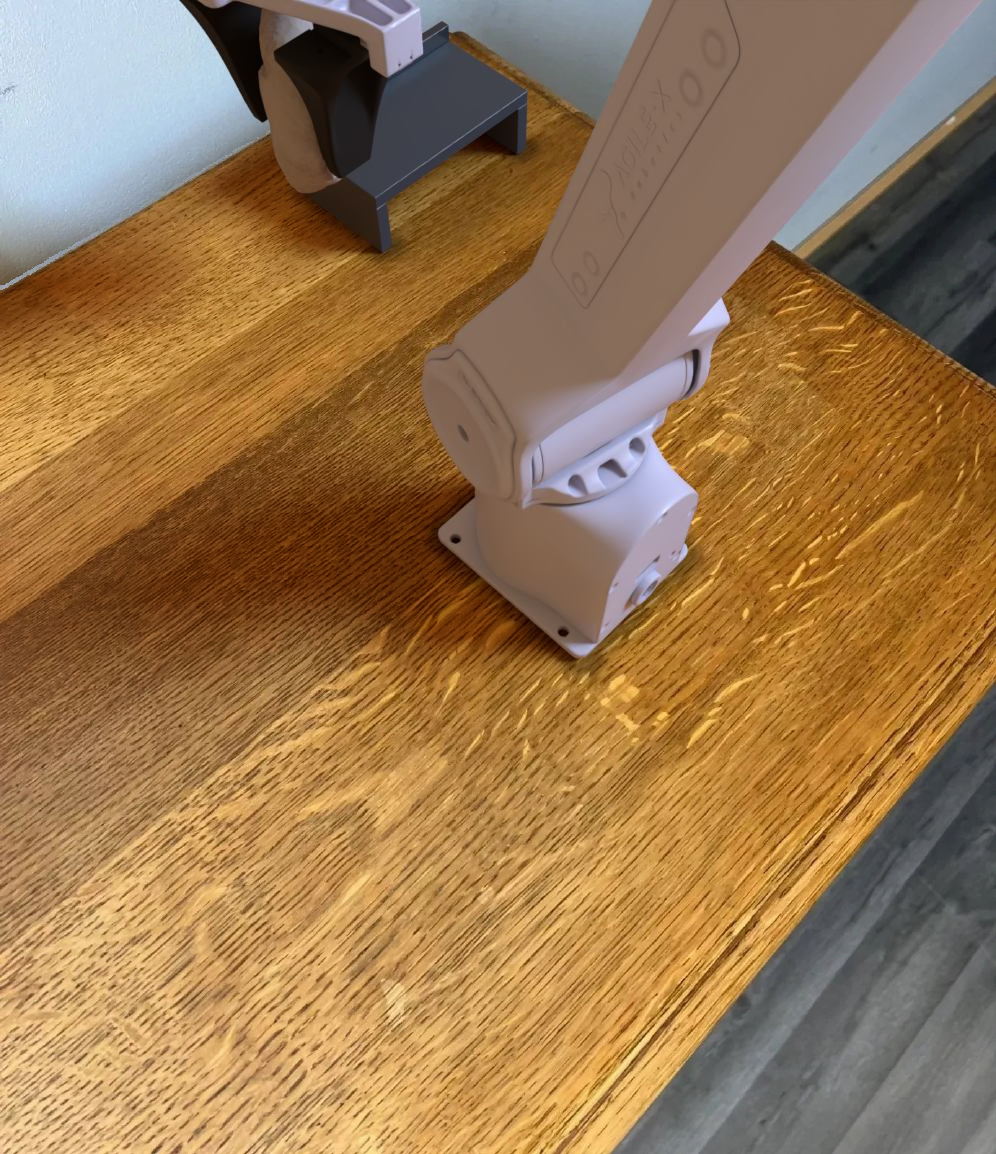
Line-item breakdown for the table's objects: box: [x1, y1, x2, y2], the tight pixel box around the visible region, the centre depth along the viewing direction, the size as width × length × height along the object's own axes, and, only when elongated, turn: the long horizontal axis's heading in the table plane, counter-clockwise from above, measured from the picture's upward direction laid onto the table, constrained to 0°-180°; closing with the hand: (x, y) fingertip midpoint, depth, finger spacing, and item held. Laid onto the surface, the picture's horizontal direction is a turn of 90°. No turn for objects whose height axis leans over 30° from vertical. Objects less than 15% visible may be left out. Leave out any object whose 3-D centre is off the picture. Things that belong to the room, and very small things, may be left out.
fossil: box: [258, 8, 342, 194], centre depth 46 cm, size 6×4×10 cm, turn 178°
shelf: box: [303, 20, 528, 254], centre depth 58 cm, size 7×12×5 cm, turn 136°
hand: (311, 136), depth 48 cm, fingers closed on fossil, 5 cm apart
